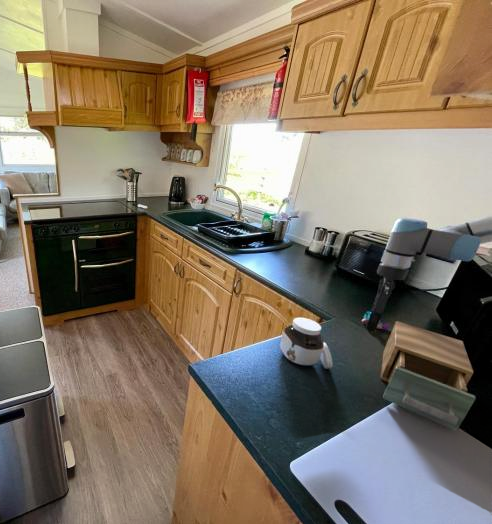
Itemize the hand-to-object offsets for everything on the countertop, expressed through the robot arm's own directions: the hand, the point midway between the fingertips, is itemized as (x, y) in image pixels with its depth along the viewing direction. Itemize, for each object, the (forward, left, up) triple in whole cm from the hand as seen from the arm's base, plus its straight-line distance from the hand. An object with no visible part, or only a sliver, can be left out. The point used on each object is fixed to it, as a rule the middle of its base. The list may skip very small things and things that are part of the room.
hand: (371, 324), depth 103 cm
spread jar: (+13, +40, 0) cm, 42 cm away
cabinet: (-11, +25, 0) cm, 27 cm away
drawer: (-11, +39, +1) cm, 40 cm away
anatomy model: (0, 0, 0) cm, 1 cm away
